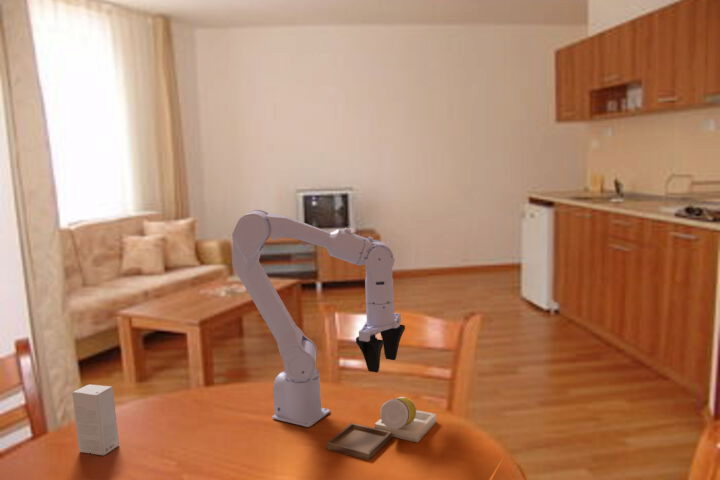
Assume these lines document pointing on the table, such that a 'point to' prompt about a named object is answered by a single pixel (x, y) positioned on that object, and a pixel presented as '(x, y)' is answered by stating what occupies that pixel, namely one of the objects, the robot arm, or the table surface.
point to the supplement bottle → (398, 412)
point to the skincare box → (96, 419)
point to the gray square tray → (359, 441)
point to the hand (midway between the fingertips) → (382, 365)
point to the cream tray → (412, 427)
